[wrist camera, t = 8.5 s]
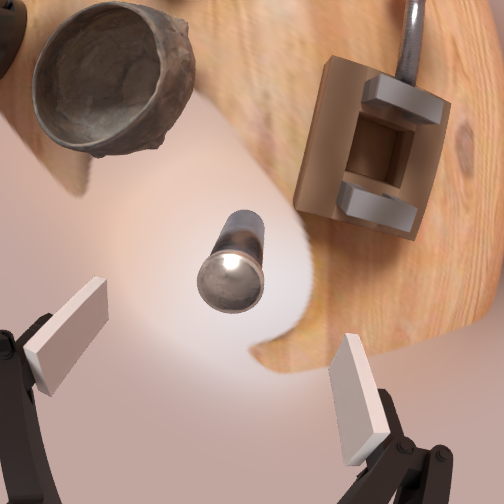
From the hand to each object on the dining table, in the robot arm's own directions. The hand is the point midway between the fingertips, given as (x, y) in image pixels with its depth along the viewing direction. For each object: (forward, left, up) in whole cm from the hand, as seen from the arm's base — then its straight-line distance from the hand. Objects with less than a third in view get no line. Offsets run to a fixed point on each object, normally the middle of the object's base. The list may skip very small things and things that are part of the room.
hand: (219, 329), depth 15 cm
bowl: (-14, +13, -17) cm, 26 cm away
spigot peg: (0, 0, -17) cm, 17 cm away
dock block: (+10, +11, -17) cm, 22 cm away
